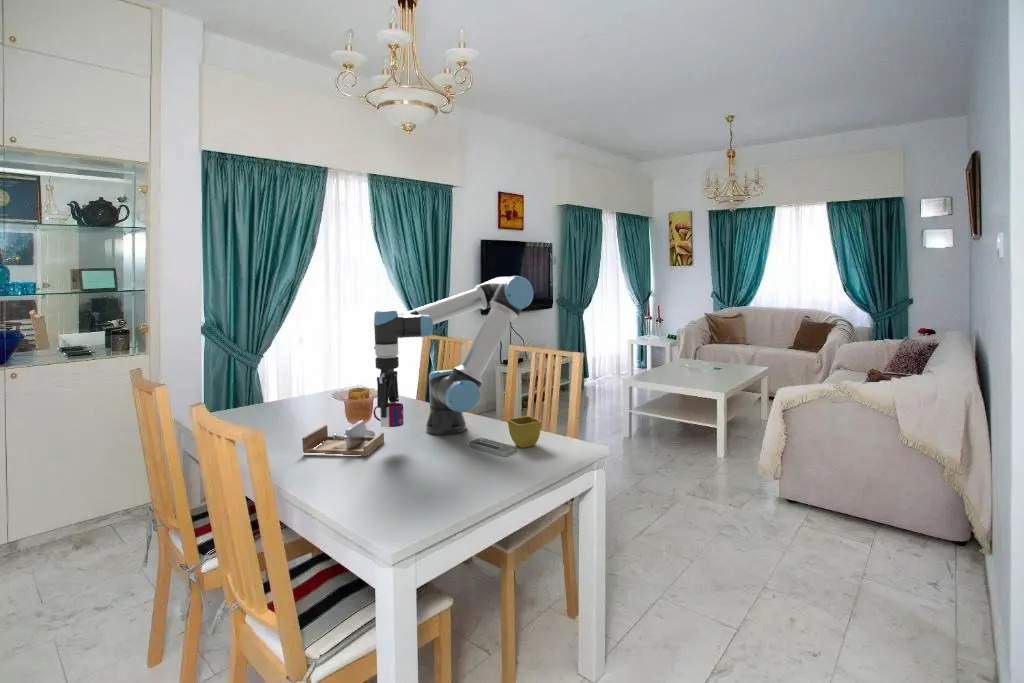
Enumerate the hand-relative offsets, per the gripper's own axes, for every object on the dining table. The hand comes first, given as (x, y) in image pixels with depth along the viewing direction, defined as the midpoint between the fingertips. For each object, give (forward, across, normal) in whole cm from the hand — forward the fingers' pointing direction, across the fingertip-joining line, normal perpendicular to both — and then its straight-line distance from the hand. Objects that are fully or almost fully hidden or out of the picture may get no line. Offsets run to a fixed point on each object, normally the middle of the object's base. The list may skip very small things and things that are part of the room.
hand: (389, 423), depth 183 cm
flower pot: (+9, -7, +45) cm, 47 cm away
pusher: (+8, 0, -16) cm, 18 cm away
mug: (+1, 0, 0) cm, 1 cm away
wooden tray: (+9, 0, -16) cm, 19 cm away
